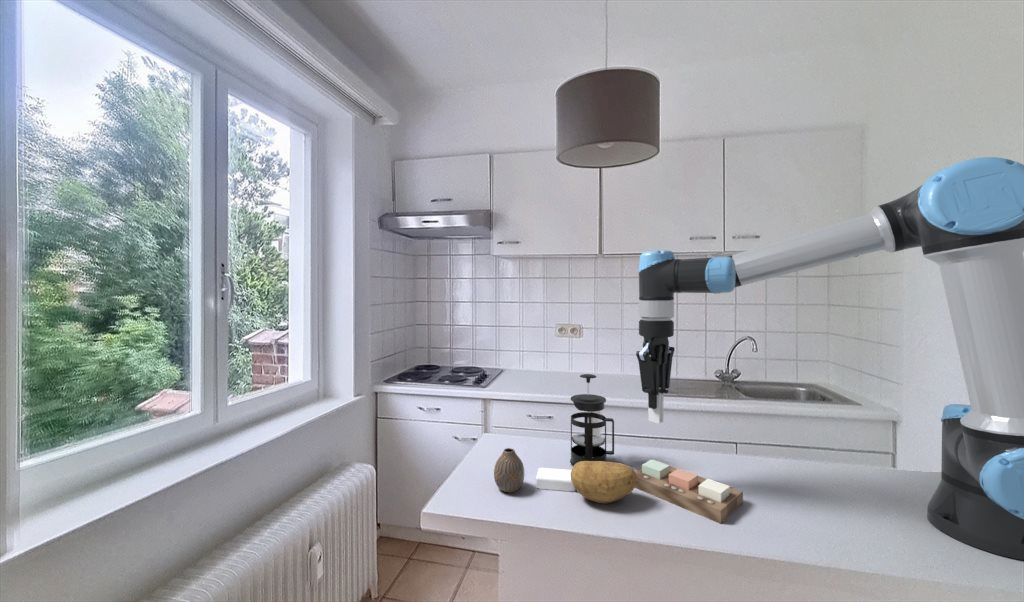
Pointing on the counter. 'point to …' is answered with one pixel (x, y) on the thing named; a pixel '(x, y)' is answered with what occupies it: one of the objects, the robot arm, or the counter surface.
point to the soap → (554, 479)
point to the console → (689, 496)
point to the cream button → (714, 490)
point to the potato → (603, 480)
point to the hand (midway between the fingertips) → (655, 421)
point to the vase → (509, 471)
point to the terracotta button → (683, 479)
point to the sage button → (656, 469)
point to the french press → (589, 428)
